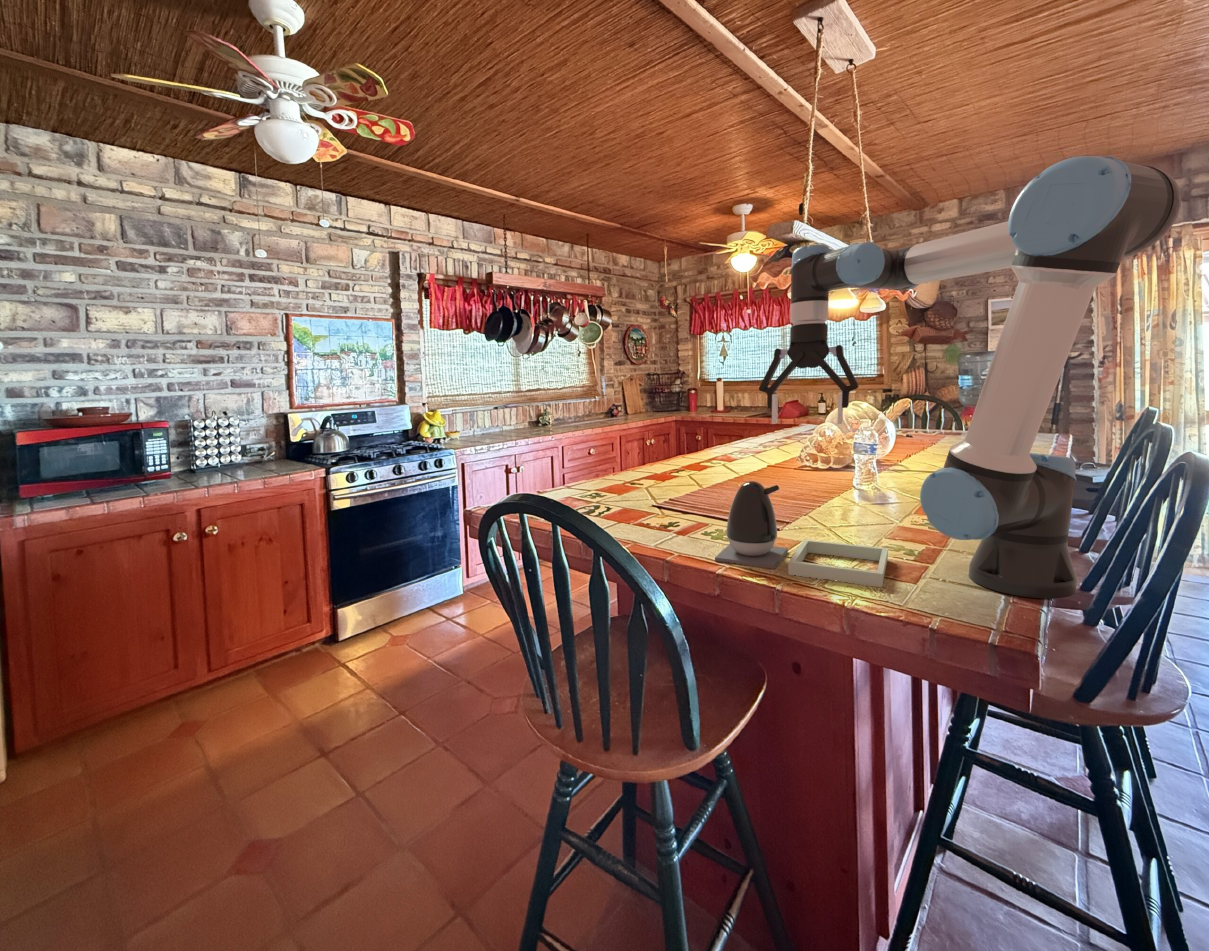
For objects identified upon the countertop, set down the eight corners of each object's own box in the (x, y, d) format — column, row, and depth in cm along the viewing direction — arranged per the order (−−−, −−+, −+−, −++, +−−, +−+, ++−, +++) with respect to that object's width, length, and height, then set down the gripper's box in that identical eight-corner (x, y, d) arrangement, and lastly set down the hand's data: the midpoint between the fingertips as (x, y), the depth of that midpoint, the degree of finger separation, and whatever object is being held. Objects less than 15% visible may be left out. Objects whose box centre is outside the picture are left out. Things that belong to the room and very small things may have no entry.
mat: (787, 551, 120) (787, 547, 120) (774, 569, 110) (774, 565, 109) (732, 544, 126) (732, 541, 125) (714, 561, 115) (714, 557, 115)
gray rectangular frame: (887, 560, 112) (888, 548, 112) (882, 587, 99) (882, 574, 98) (803, 550, 120) (804, 539, 120) (788, 574, 106) (788, 562, 106)
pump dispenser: (780, 561, 111) (781, 486, 109) (726, 559, 114) (727, 486, 111) (775, 545, 121) (776, 476, 119) (726, 544, 123) (726, 476, 121)
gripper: (874, 320, 117) (869, 422, 121) (753, 329, 129) (753, 421, 132) (872, 317, 111) (868, 425, 114) (745, 327, 122) (745, 424, 126)
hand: (806, 423), depth 123 cm, fingers open, 13 cm apart
